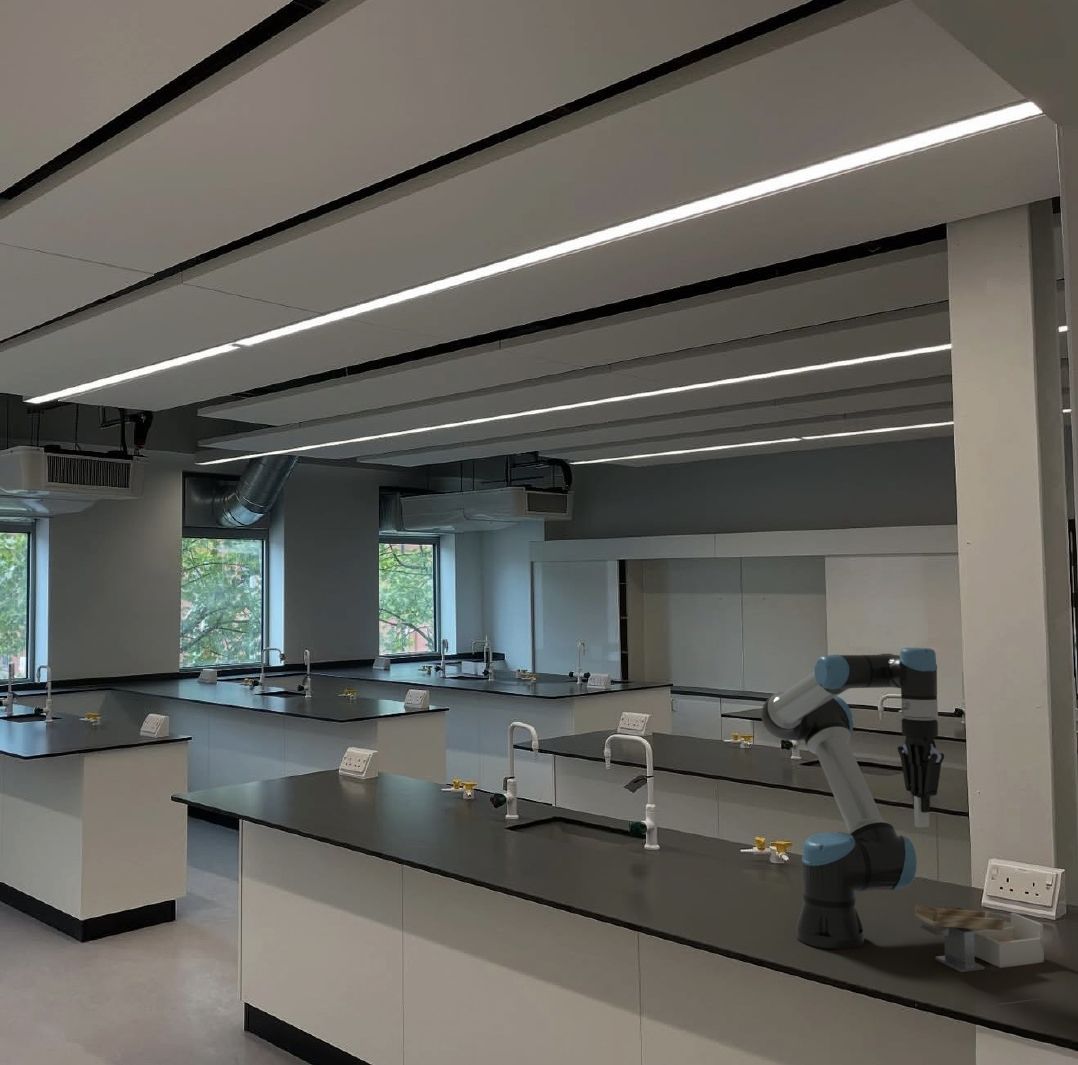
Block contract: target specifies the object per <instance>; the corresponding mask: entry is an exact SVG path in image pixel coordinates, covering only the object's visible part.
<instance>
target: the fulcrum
mask: <svg viewBox="0 0 1078 1065" xmlns="http://www.w3.org/2000/svg"><path fill="white" fill-rule="evenodd" d="M974 931H975V930H972V929H971V928H959V927H949V932H948V936H943V937H944V955H938V956H935V961H938V962H940V963H942V964H944V965H945V966H948V967H950V968H952V969H954V970H955V971H958V972H960V973H965V972H975V971H981V970H982V971H983V970H985V965H982V964H980V963H978V962H976V961H975V959H976V958H975V957H976V956H975V953H974Z"/></svg>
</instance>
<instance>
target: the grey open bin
mask: <svg viewBox="0 0 1078 1065" xmlns="http://www.w3.org/2000/svg"><path fill="white" fill-rule="evenodd" d="M973 931H974V953H975V957H976V958H978V959H980V960H983V961H984V962H987V963H989V964H990V965H992V966H995V967H997V968H1000V969H1003V968H1010V967H1017V966H1018V967H1019V966H1026V965H1033V964H1034V965H1035V964H1041V963H1045V955H1044V954H1045V953H1044V951H1045V950H1044V924H1043V923H1040V922H1039V921H1035V920H1033V919H1031V918H1028V917H1026V916H1025V917H1024V916H1022V915H1019V914H1017V913H1015V912H1010V926H1007V927H1003V930H990V929H978V930H973ZM1006 938H1013V939H1015V941H1006V942H1003V940H1004V939H1006Z"/></svg>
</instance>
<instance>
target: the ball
mask: <svg viewBox="0 0 1078 1065" xmlns="http://www.w3.org/2000/svg"><path fill="white" fill-rule="evenodd" d="M1006 941H1015V939H1013V938H1006V939H1004V940H1003V942H1006Z"/></svg>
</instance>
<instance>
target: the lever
mask: <svg viewBox="0 0 1078 1065" xmlns="http://www.w3.org/2000/svg"><path fill="white" fill-rule="evenodd" d="M914 908H915V909H914V916H913V917H914V918H915V919H917V920H919V921H921V922H920V929H922V930H923V931H926V932H928V933H930V934H933V935H936V936H943V937H944V936H948V932H949V927H959V928H968V929H977V930H987V929H990V930H1003V928H1004V920H1005V919H1003V918H993V917H992V918H991V917H986V911H980V910H979V911H978V910H965V909H963V908H960V907H950V906H949V907H947V906H945V907H944V908H935V907H926V906H923V905H921V904H919V903H915V907H914Z"/></svg>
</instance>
